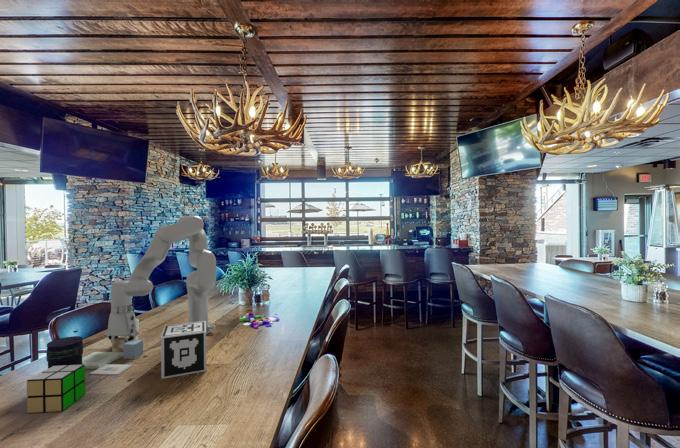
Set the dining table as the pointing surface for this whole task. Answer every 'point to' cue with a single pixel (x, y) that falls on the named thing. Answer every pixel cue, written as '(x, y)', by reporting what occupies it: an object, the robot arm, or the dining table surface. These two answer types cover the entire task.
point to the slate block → (133, 349)
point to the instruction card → (111, 369)
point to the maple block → (118, 344)
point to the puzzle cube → (55, 388)
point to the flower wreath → (258, 320)
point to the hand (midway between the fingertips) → (122, 350)
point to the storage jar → (65, 351)
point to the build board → (100, 359)
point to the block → (183, 349)
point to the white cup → (136, 329)
